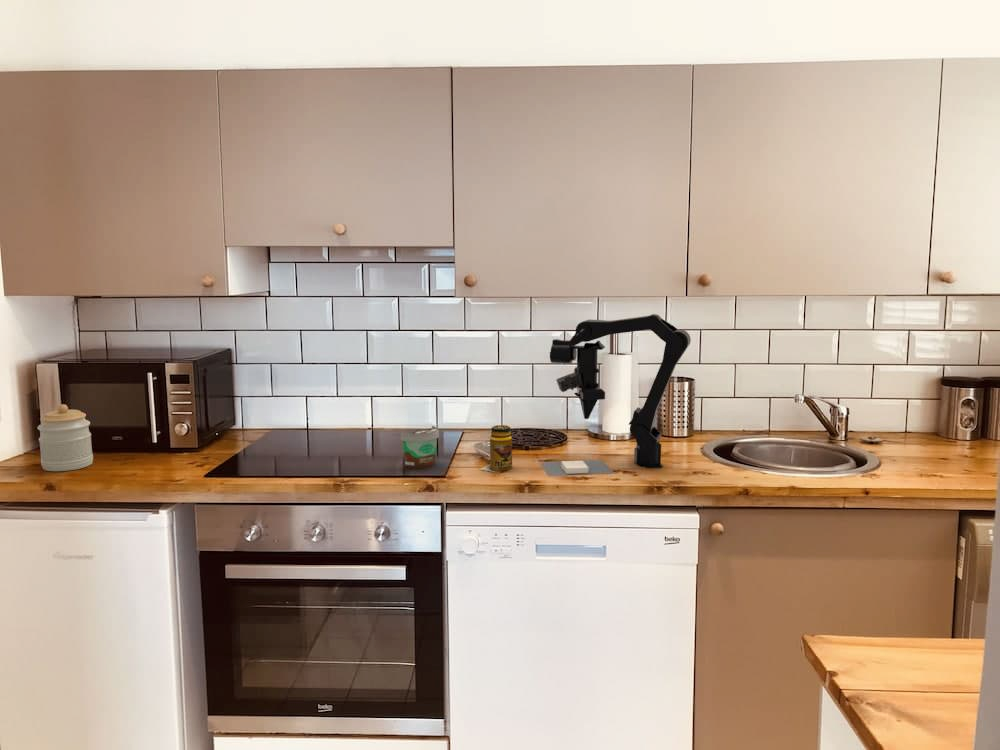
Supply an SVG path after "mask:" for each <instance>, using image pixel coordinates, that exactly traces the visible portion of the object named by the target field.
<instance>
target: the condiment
mask: <svg viewBox="0 0 1000 750" xmlns="http://www.w3.org/2000/svg"><path fill="white" fill-rule="evenodd" d="M511 431H512V429H511V426H508V425H504V424H501V425H500V424H499V425H494V426H492V427H491V432H490V434H491V435H490V438H489V453H490V454H489V464H487V465H485V466H483V467H482V468H479V470H482V471H486V472H492V473H498V474H502V472H501V471H508V470H510V469H512V467H513V437H512V436H511V435H512V432H511Z"/></svg>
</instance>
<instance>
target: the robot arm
mask: <svg viewBox="0 0 1000 750" xmlns="http://www.w3.org/2000/svg"><path fill="white" fill-rule="evenodd" d="M648 330H649V331H652V332H653V333H654V334H655V335H656V336H657V337H658V338H659V339H660V340H662V341H663V342H664V343H665V345H664V348H663V349H664V350H663V356H662V361H661V364H660V367H659V368H658V370H657V373H656V375H655V378H654V381H653V383H652V385H651V388H650V391H649V393H648V395H647V397H646V400H645V402H644V404H643V406H642V408H640V407H639V406H638V407H636V408H635V409H634V411H633V414H632V418H631V420H630V421H629V423H628V425H630V427H629V433H630V435H631V436H632V437H633V439H634V440H635V441H636V443H635V444H636V445H635V448H634V450H633V451H634V453H633V454H634V455H633V461H634V463H635V464H636V465H638V467H641V468H649V469H650V468H663V464H662V461H661V460H662V459H661V458H662V444H661V443H660V442H659V441H660V439H661V438H662V433H661V432H660V430H659V429H658V428H657V427H655V424H656V420H657V415H658V408H659V406H660V403H661V401H662V398H663V396H664V394H665V392H666V390H667V387H668V384H669V383H670V379H671V377H672V375H673V373H674V371H675V369H676V365H678V363H679V361H680V360H681V358H682V357H683V355H684V353H685V352H686V350H687V349H688V348H689V346H690V344H691V340H692V339H691V336H690V333H688V331H686V330H684V329H678V328H677V327H676V326H674V324H673V325H672V324H671V323H669V322H668V321H666V320H665V319H663V318H662V317H661V315H659V314H657V313H653V314H650V315H643V316H638V317H637V316H636V317H628V318H622V319H614V320H602V319H586V320H584V321H581V322H579V323H578V324H577V325H576V327H575V334H573V336H572V337H571V338H570V340H568V339H567V340H566V339H559V338H558V339H557V338H556V339H553V340H552V341H551V343H552V344H551V347H550V351H549V361H550V363H551V364H566V365H567V364H568V365H571V364H572V363H573V362H574V361H576V366H575V367H574V371H573V372H571V373H569V374H566V375H564V376H561V377H558V378H556V380H555V381H556V382H557V383H556V384H557V386H558V388H559V390H560V391H561V392H562V393H563V392H567V391H568V390H571V391H573V390H574V389H576V392H574V393H573V394H574V396H576V397H577V398H578V399H579V402H580V405H581V411H582V415H583V418H584V420H589V419H590V417H591V414H592V412H593V410H594V409H595V406H596V404H597V402H598V400H605V399H606V391H604V390H603V389H602V388H601V387H599V385H600V384H599V383H598V374H599V373H600V369H599V368H598V353H599V352H598V351H602V350H604V349H605V348H606V346H605V345H604V344H603V343H602V342H601V340H597V339H600V338H604V337H607V336H610V335H617V334H618V335H619V334H624V333H625V334H626V333H632V332H639V331H648ZM595 340H597V341H596V342H591V341H595ZM583 342H584V345H579V344H581V343H583Z"/></svg>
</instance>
